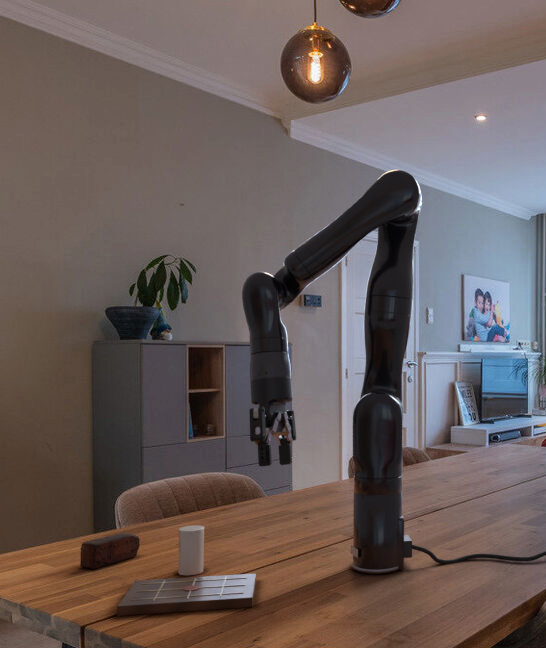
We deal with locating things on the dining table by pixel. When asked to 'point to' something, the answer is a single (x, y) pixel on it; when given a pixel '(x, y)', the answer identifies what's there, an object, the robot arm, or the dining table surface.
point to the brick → (108, 550)
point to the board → (188, 594)
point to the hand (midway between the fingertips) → (275, 465)
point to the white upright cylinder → (191, 550)
